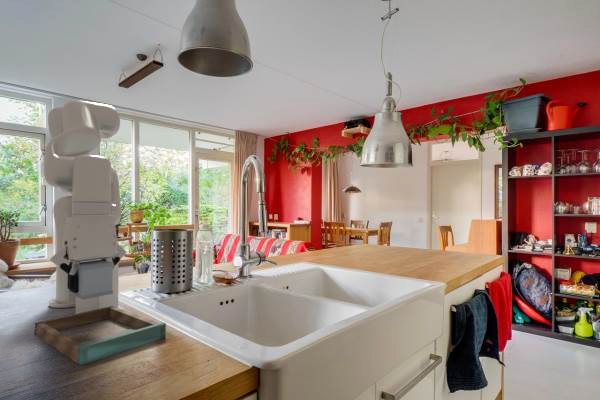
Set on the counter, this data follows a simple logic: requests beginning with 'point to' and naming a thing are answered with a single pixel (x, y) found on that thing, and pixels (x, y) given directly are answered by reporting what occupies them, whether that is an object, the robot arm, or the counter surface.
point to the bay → (101, 346)
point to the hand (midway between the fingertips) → (90, 288)
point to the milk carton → (100, 297)
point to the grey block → (94, 279)
